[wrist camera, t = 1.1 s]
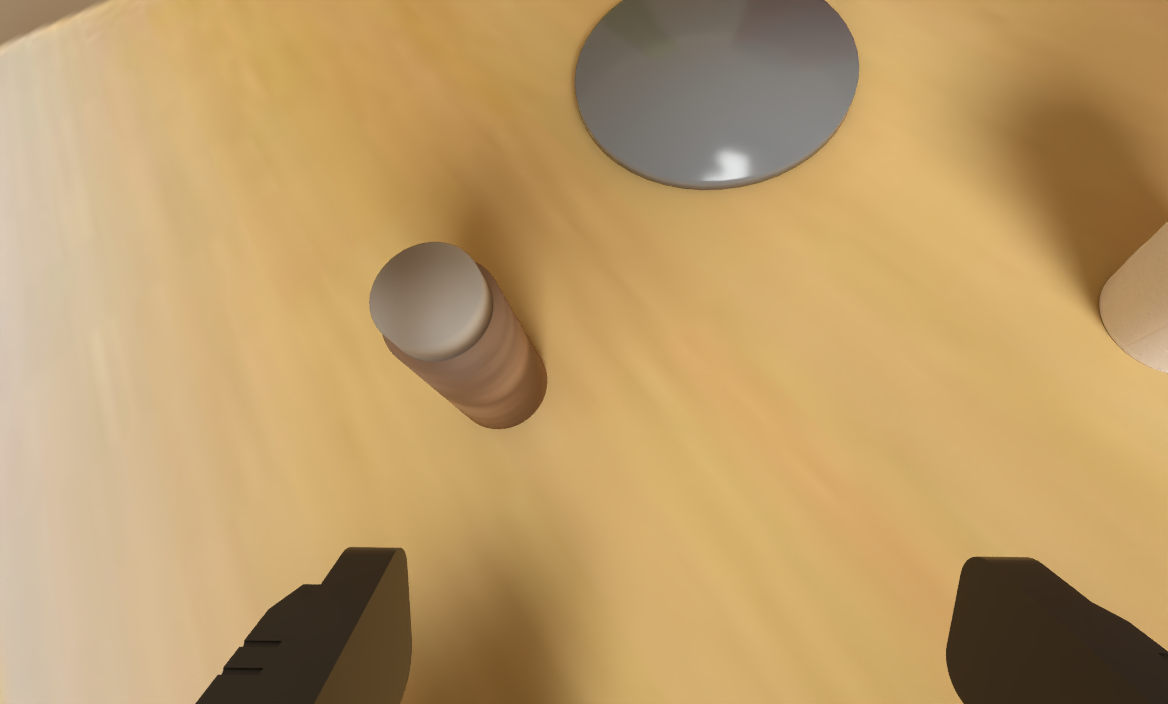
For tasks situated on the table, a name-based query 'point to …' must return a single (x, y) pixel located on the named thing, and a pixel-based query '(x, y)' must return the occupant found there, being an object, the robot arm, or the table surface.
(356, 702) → the robot arm
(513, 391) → the pepper mill
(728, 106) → the trivet
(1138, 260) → the dixie cup
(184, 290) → the table surface
